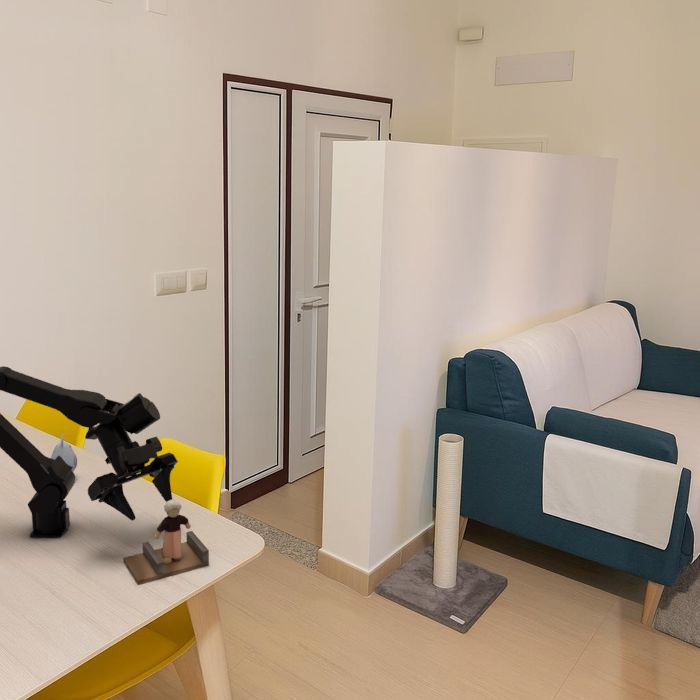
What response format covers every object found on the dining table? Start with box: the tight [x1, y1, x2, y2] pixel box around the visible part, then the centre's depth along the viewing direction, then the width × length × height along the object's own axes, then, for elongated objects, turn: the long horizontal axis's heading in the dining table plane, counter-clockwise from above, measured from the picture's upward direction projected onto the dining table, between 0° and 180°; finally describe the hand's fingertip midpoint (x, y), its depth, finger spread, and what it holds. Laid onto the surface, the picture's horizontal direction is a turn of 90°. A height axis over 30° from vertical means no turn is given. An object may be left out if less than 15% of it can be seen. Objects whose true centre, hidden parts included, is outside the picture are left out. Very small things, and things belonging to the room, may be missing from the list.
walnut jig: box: [122, 530, 210, 585], centre depth 145 cm, size 14×10×3 cm
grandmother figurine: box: [153, 498, 192, 564], centre depth 144 cm, size 8×4×13 cm, turn 141°
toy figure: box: [50, 433, 78, 472], centre depth 178 cm, size 11×6×12 cm, turn 19°
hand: (153, 511), depth 148 cm, fingers open, 9 cm apart
